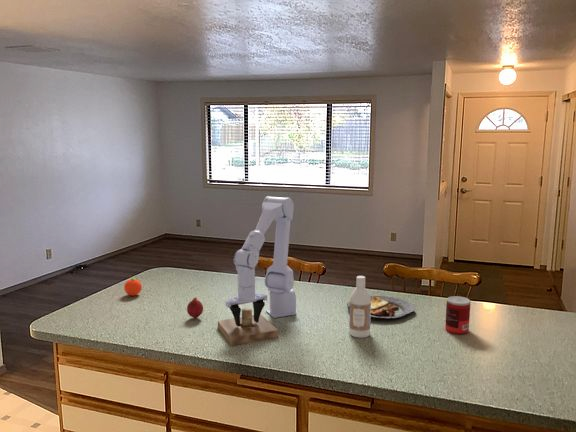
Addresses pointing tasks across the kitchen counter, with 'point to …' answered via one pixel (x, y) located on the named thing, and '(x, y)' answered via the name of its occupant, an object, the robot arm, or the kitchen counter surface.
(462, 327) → the canned food
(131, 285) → the clementine
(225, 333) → the board
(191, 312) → the pomegranate
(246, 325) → the peg
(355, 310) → the bath foam
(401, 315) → the food plate
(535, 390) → the kitchen counter surface
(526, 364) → the kitchen counter surface
